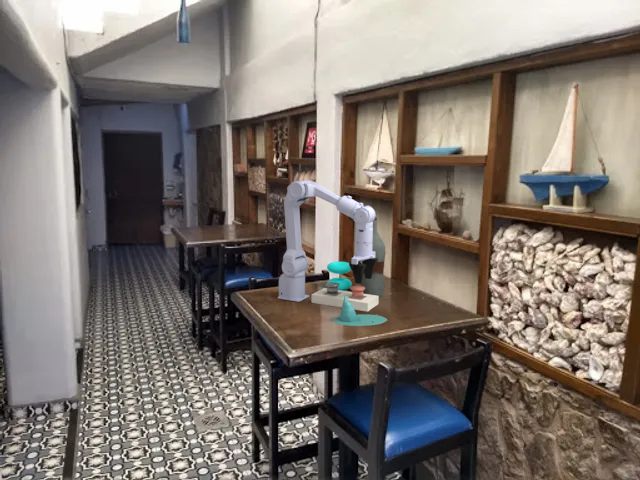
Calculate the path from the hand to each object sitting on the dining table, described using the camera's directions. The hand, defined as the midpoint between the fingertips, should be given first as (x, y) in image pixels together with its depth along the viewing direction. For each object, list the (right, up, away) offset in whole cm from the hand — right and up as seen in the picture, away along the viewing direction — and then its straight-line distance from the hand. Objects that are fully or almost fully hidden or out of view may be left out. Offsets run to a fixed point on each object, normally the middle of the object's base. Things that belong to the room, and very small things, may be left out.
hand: (363, 280), depth 166 cm
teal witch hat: (-2, -12, -9) cm, 16 cm away
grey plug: (-10, -5, +10) cm, 15 cm away
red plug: (-2, -6, +5) cm, 8 cm away
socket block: (-6, -9, +8) cm, 13 cm away
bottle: (+5, -7, +18) cm, 20 cm away
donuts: (-7, -5, +29) cm, 30 cm away
